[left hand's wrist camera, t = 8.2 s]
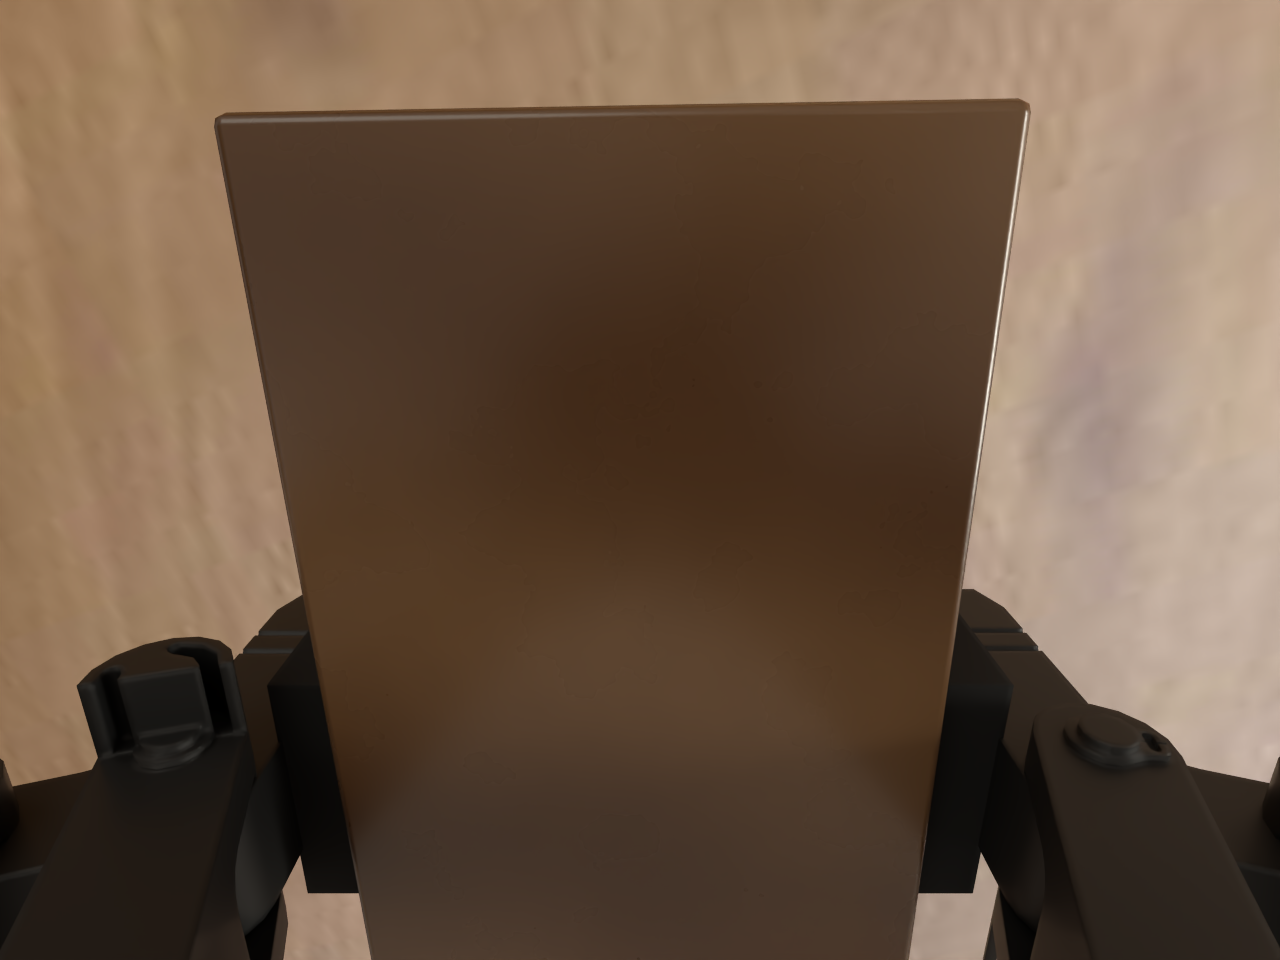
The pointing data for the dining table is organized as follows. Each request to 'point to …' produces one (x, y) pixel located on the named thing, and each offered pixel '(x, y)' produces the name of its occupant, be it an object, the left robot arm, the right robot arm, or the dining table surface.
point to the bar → (631, 503)
